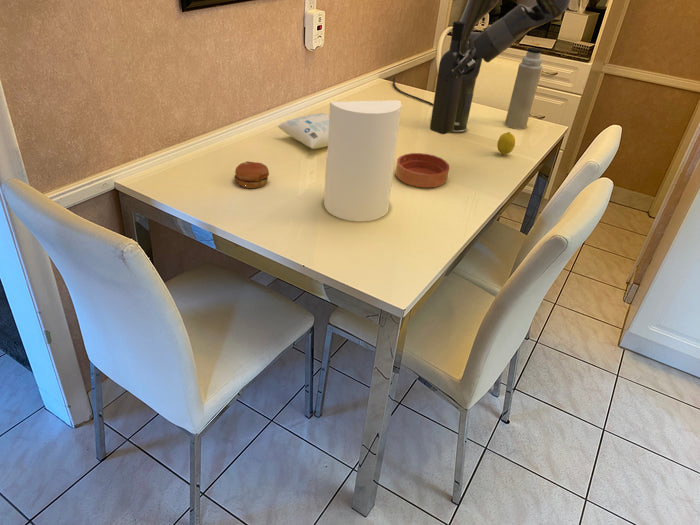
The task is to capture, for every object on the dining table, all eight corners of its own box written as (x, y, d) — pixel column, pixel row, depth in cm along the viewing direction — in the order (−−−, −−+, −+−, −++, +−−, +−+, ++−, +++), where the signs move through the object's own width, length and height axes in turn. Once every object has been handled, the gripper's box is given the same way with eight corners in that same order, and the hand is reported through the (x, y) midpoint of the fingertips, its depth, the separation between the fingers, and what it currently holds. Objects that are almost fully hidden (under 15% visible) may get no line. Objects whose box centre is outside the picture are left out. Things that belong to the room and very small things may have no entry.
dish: (385, 171, 159) (387, 157, 156) (425, 163, 166) (427, 150, 163) (415, 193, 148) (417, 178, 145) (457, 183, 155) (460, 169, 152)
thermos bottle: (505, 120, 205) (524, 44, 189) (526, 123, 203) (546, 48, 187) (504, 126, 199) (522, 49, 183) (525, 130, 197) (546, 52, 181)
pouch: (311, 134, 158) (360, 120, 169) (275, 117, 170) (323, 104, 181) (312, 158, 163) (359, 143, 174) (277, 140, 175) (323, 127, 186)
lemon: (512, 159, 173) (518, 136, 168) (495, 157, 174) (500, 133, 169) (511, 153, 177) (517, 130, 173) (494, 150, 178) (500, 128, 174)
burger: (253, 192, 142) (252, 176, 139) (227, 182, 146) (226, 166, 143) (276, 180, 149) (276, 164, 146) (251, 171, 153) (250, 156, 150)
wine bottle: (439, 125, 160) (456, 19, 143) (454, 131, 157) (473, 23, 140) (427, 129, 157) (444, 21, 140) (443, 135, 153) (461, 25, 136)
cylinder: (397, 218, 135) (412, 112, 119) (333, 224, 131) (339, 114, 115) (376, 188, 149) (387, 89, 133) (317, 192, 144) (321, 90, 128)
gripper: (487, 23, 145) (439, 62, 153) (486, 33, 133) (433, 74, 142) (502, 46, 147) (453, 83, 155) (502, 57, 135) (449, 96, 144)
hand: (444, 79), depth 149 cm, fingers closed on wine bottle, 7 cm apart
